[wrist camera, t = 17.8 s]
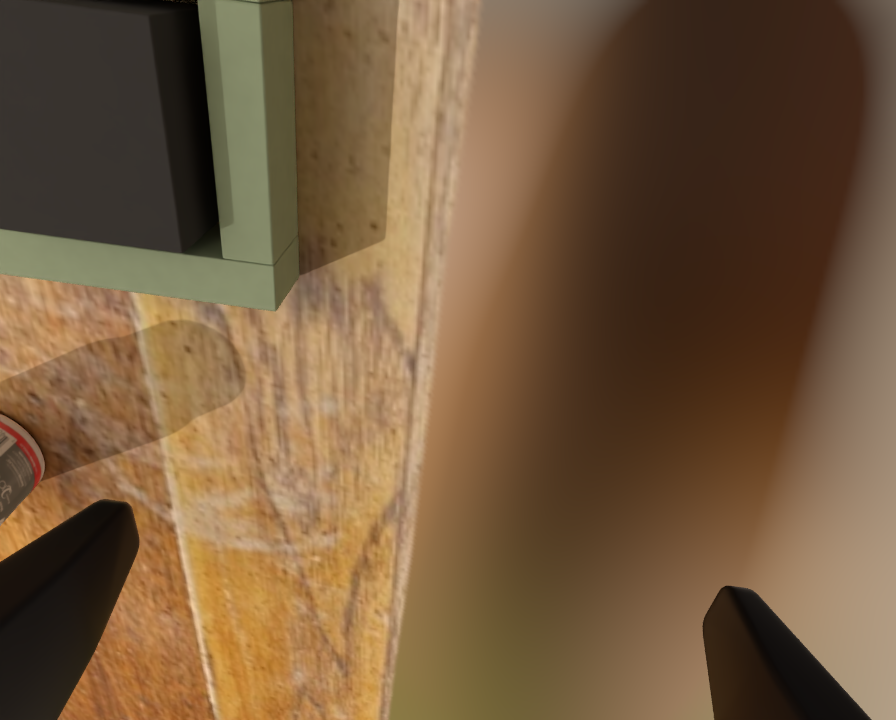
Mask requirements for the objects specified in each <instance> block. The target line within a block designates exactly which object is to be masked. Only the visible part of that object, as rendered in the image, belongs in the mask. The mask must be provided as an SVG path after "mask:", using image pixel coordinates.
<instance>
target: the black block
mask: <svg viewBox="0 0 896 720" xmlns="http://www.w3.org/2000/svg"><path fill="white" fill-rule="evenodd" d="M218 222H219V214H218V204H217V194H216V183H215V173H214V163H213V153H212V143H211V133H210V123H209V112H208V102H207V92H206V82H205V72H204V62H203V52H202V41H201V31H200V21H199V11H198V5H193V4H186V3H178V2H171V1H163V0H0V229H5V230H12V231H20V232H27V233H35V234H42V235H50V236H57V237H64V238H72V239H79V240H87V241H94V242H102V243H109V244H117V245H124V246H132V247H139V248H147V249H154V250H161V251H169V252H176V253H184V252H185V251H186V250H187V249H188V248H189V247H191V246H192V245H193V244H194V243H195V242H196V241H197V240H199V239H200V238H201V237H202V236H203V235H204V234H205V233H206V232H208V231H209V230H210V229H211V228H212V227H213V226H214V225H216V224H217V223H218Z"/></svg>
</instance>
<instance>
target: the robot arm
mask: <svg viewBox="0 0 896 720" xmlns="http://www.w3.org/2000/svg"><path fill="white" fill-rule="evenodd" d="M138 548H139V534H138V530H137V526H136V522H135V518H134V514H133V510H132V507H131V506H130V505H129V504H128V503H127V502H122V501H115V500H108V499H103V500H99V501H97V502H95V503H93V504H92V505H90V506H88V507H87V508H85V509H84V510H82V511H80V512H79V513H77V514H76V515H74V516H73V517H71V518H69V519H68V520H66V521H65V522H63V523H61V524H60V525H58V526H57V527H55V528H53V529H52V530H50V531H49V532H47V533H46V534H44V535H42V536H41V537H39V538H38V539H36V540H34V541H33V542H31V543H30V544H28V545H27V546H25V547H23V548H22V549H20V550H19V551H17V552H15V553H14V554H12V555H11V556H9V557H7V558H6V559H4V560H3V561H1V562H0V720H57V719H58V717H59V716H60V714H61V712H62V710H63V708H64V707H65V705H66V703H67V701H68V699H69V698H70V696H71V694H72V692H73V690H74V688H75V687H76V685H77V683H78V681H79V679H80V678H81V676H82V674H83V672H84V670H85V669H86V667H87V665H88V663H89V661H90V659H91V657H92V655H93V654H94V652H95V650H96V647H97V645H98V643H99V641H100V639H101V636H102V634H103V632H104V630H105V627H106V625H107V623H108V620H109V618H110V616H111V613H112V611H113V609H114V606H115V604H116V602H117V599H118V597H119V595H120V592H121V590H122V588H123V585H124V583H125V581H126V578H127V576H128V574H129V571H130V569H131V567H132V564H133V562H134V560H135V557H136V555H137V552H138ZM703 638H704V646H705V653H706V660H707V667H708V675H709V682H710V690H711V698H712V705H713V712H714V720H871V719H870V717H869V716H868V715H867V714H866V713H865V712H864V711H863V710H862V709H861V708H860V706H859V705H858V704H857V703H856V702H855V701H854V700H853V699H852V698H851V697H850V696H849V694H848V693H847V692H846V691H845V690H844V689H843V688H842V687H841V686H840V684H839V683H838V682H837V681H836V680H835V679H834V678H833V677H832V676H831V675H830V673H829V672H828V671H827V670H826V669H825V668H824V667H823V666H822V665H821V664H820V662H819V661H818V660H817V659H816V658H815V657H814V656H813V655H812V654H811V653H810V651H809V650H808V649H807V648H806V647H805V646H804V645H803V644H802V643H801V642H800V640H799V639H798V638H797V637H796V636H795V635H794V634H793V633H792V632H791V631H790V629H789V628H788V627H787V626H786V625H785V624H784V623H783V622H782V621H781V620H780V618H779V617H778V616H777V615H776V614H775V613H774V612H773V611H772V610H771V609H770V607H769V606H768V605H767V604H766V603H765V602H764V601H763V600H762V599H761V598H760V597H759V595H758V594H757V593H755V592H754V591H753V590H751V589H748V588H741V587H734V586H725V587H723V588H721V590H720V591H719V593H718V594H717V596H716V598H715V599H714V601H713V603H712V605H711V606H710V608H709V610H708V612H707V614H706V615H705V618H704V621H703Z"/></svg>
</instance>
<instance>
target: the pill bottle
mask: <svg viewBox="0 0 896 720" xmlns="http://www.w3.org/2000/svg"><path fill="white" fill-rule="evenodd" d="M44 470H45V462H44V458H43V455H42V453H41V450H40V448H39V447H38V445H37V443H36V442H35V440H34V439H33V438H32V437H31V435H30V434H29V433H28V432H27V431H26V430H25V429H24V428H22V427H21V426H20V425H19V424H17V423H16V422H14V421H13V420H11V419H9V418H8V417H6V416H4V415H2V414H0V525H1V524H2V523H3V522H4V521H5V520H6V519H7V517H8V516H9V515H10V514H11V513H12V512H13V511H14V510H15V509H16V508H17V506H18V505H19V504H20V503H21V502H22V501H23V500H24V499H25V498H26V497H27V496H28V494H29V493H30V492H31V491H32V490H33V489H34V488H35V487H36V486H37V484H38V483H39V482H40V480H41V479H42V477H43V474H44Z"/></svg>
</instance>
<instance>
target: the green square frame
mask: <svg viewBox="0 0 896 720" xmlns="http://www.w3.org/2000/svg"><path fill="white" fill-rule="evenodd" d="M197 1H198V11H199V21H200V31H201V41H202V52H203V62H204V72H205V82H206V92H207V102H208V112H209V123H210V133H211V143H212V153H213V163H214V173H215V183H216V194H217V204H218V214H219V224H216V225H214V226H213V227H212V228H211V229H210V230H209V231H208V232H206V233H205V234H204V235H203V236H202V237H201V238H200V239H199V240H197V241H196V242H195V243H194V244H193V245H192V246H191V247H189V248H188V249H187V250H186V251H185V252H184V253H176V252H169V251H161V250H154V249H147V248H139V247H132V246H124V245H117V244H109V243H102V242H94V241H87V240H79V239H72V238H64V237H57V236H50V235H42V234H35V233H27V232H20V231H12V230H5V229H0V274H5V275H12V276H19V277H27V278H34V279H41V280H49V281H56V282H63V283H71V284H78V285H85V286H93V287H100V288H107V289H114V290H122V291H129V292H136V293H144V294H151V295H158V296H166V297H173V298H180V299H188V300H195V301H202V302H210V303H217V304H224V305H231V306H239V307H246V308H253V309H261V310H268V311H277V309H278V308H279V306H280V305H281V303H282V302H283V300H284V299H285V297H286V296H287V294H288V293H289V291H290V290H291V288H292V287H293V285H294V284H295V282H296V281H297V279H298V278H299V242H298V235H297V234H298V210H297V170H296V129H295V88H294V47H293V7H292V1H291V0H197Z"/></svg>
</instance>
